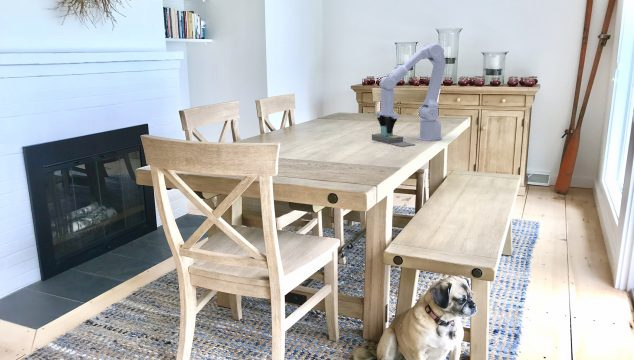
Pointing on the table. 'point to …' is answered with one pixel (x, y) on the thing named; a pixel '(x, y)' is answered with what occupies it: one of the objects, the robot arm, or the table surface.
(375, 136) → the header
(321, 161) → the table surface
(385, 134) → the plug
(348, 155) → the table surface
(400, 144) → the mat
